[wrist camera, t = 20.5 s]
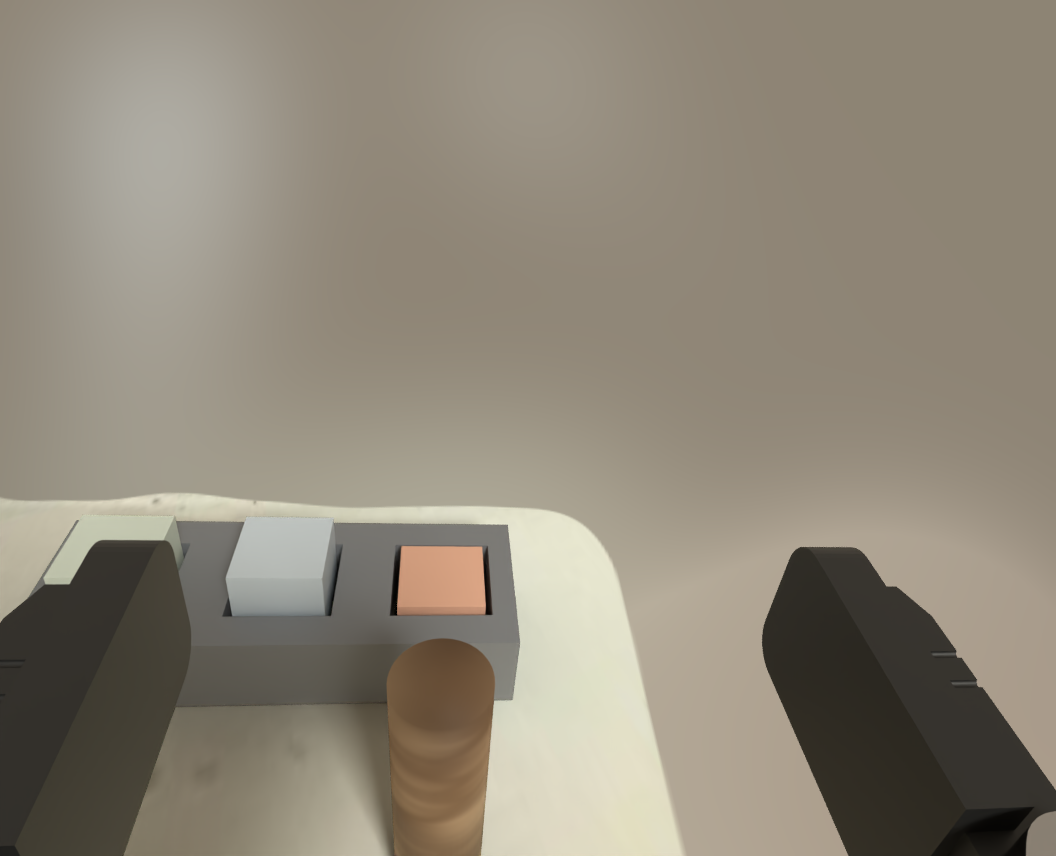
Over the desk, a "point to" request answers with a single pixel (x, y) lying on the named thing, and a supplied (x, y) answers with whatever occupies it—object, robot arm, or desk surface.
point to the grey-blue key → (283, 567)
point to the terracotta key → (441, 581)
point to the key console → (333, 619)
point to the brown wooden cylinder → (439, 747)
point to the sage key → (110, 529)
